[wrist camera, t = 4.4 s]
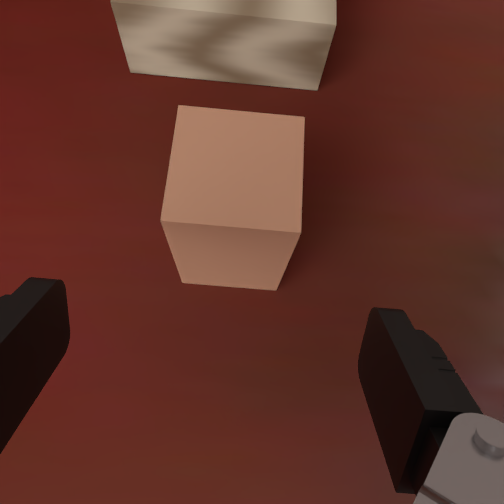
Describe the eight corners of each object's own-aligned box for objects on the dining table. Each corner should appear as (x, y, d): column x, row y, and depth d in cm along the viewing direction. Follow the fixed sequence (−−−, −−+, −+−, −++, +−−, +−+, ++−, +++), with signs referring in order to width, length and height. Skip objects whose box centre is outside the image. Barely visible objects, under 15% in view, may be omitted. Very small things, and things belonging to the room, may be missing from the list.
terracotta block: (182, 282, 22) (160, 220, 15) (193, 198, 24) (178, 105, 17) (276, 290, 23) (301, 232, 15) (280, 206, 24) (304, 116, 17)
